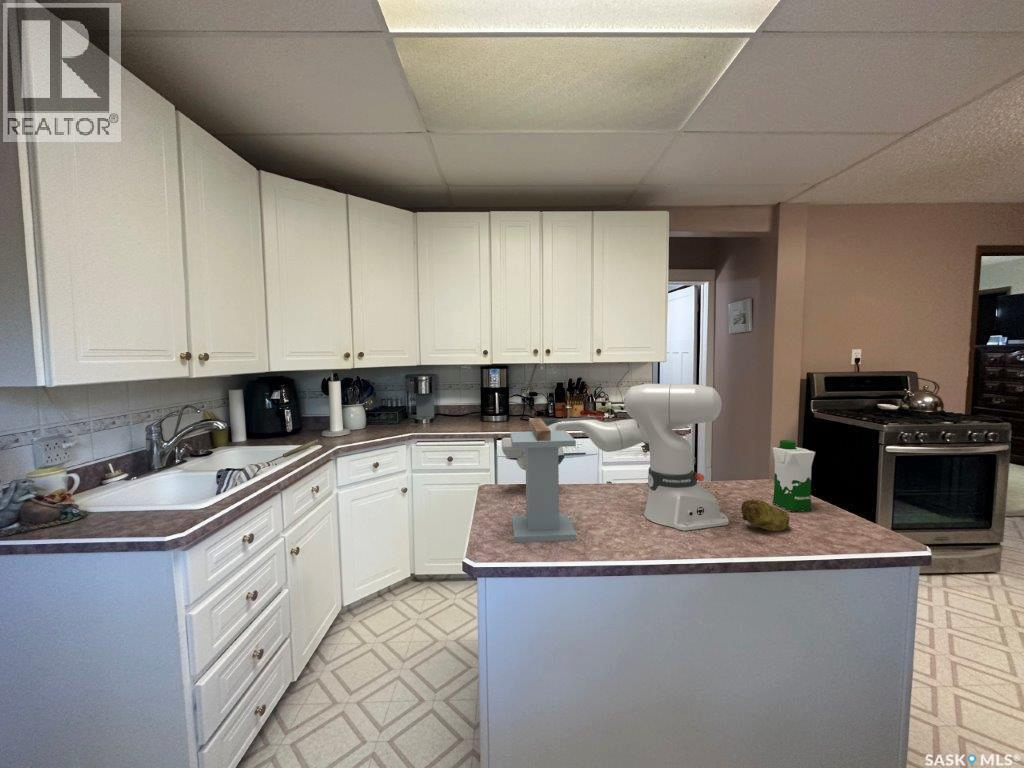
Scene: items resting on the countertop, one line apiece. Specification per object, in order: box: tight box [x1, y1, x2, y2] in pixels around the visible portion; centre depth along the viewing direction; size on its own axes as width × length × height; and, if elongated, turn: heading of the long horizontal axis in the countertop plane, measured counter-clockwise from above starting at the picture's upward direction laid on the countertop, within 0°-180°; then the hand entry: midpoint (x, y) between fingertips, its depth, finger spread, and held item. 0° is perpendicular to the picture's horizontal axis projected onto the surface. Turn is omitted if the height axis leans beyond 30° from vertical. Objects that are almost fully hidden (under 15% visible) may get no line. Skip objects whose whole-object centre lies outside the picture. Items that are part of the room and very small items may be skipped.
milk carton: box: [772, 439, 816, 512], centre depth 122 cm, size 9×9×20 cm
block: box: [528, 417, 551, 441], centre depth 113 cm, size 4×22×2 cm, turn 3°
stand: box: [509, 430, 578, 543], centre depth 109 cm, size 16×14×26 cm
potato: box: [740, 498, 791, 532], centre depth 108 cm, size 8×13×8 cm, turn 82°
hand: (532, 437), depth 131 cm, fingers open, 8 cm apart
